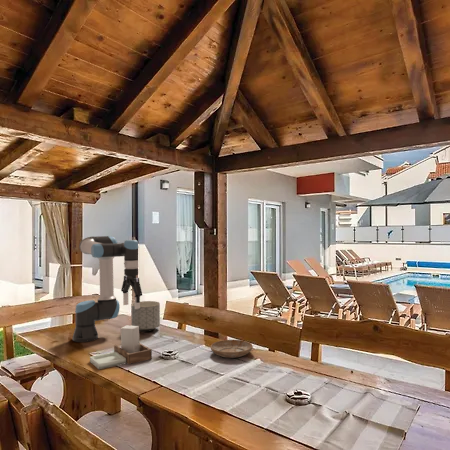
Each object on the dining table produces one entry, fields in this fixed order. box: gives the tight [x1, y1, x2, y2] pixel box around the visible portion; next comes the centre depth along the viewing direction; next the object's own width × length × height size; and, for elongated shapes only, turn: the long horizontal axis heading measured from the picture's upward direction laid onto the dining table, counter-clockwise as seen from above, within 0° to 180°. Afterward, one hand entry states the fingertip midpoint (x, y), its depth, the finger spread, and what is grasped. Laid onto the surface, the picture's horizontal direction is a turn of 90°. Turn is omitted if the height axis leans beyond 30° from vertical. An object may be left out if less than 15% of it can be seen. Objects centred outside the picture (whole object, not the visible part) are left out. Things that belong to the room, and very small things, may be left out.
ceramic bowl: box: [210, 339, 253, 359], centre depth 210 cm, size 23×24×5 cm
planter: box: [130, 300, 161, 333], centre depth 260 cm, size 19×19×18 cm
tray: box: [89, 351, 127, 370], centre depth 197 cm, size 14×14×3 cm
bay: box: [113, 342, 153, 365], centre depth 207 cm, size 20×13×5 cm, turn 37°
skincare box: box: [120, 325, 141, 354], centre depth 209 cm, size 8×7×16 cm
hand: (131, 306), depth 209 cm, fingers open, 13 cm apart
